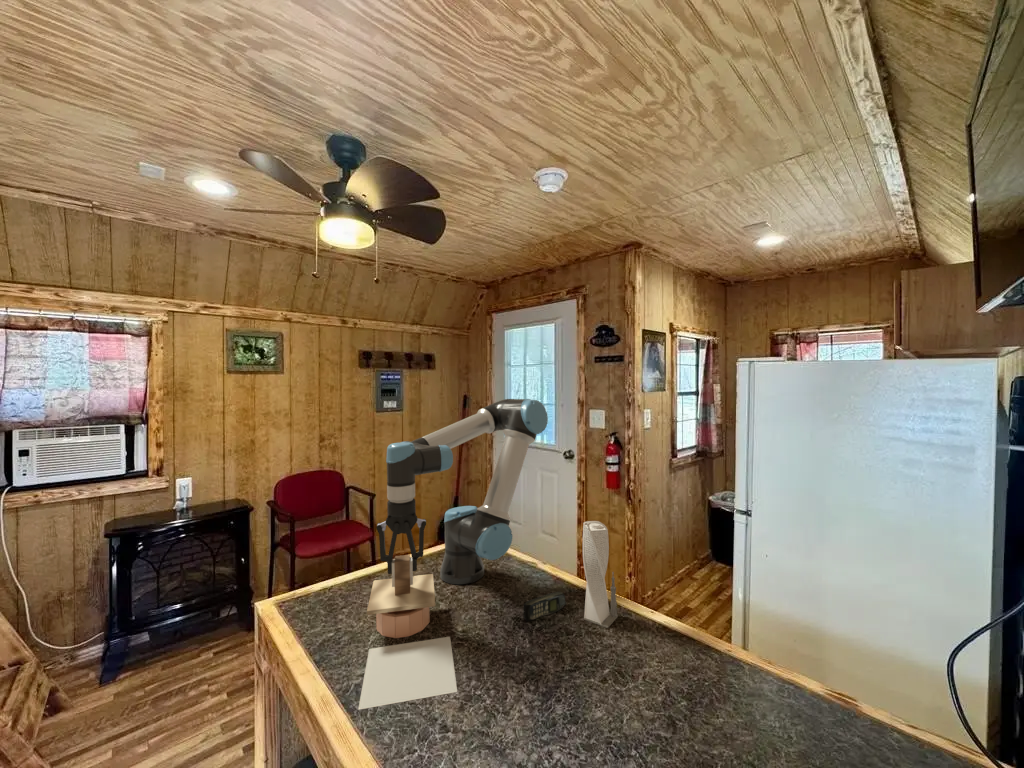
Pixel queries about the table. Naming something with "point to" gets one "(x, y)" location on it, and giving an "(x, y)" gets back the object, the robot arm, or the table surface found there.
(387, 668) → the mat
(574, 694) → the table surface
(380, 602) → the board
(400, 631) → the bowl
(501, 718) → the table surface
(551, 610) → the mobile phone
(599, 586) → the skyscraper
